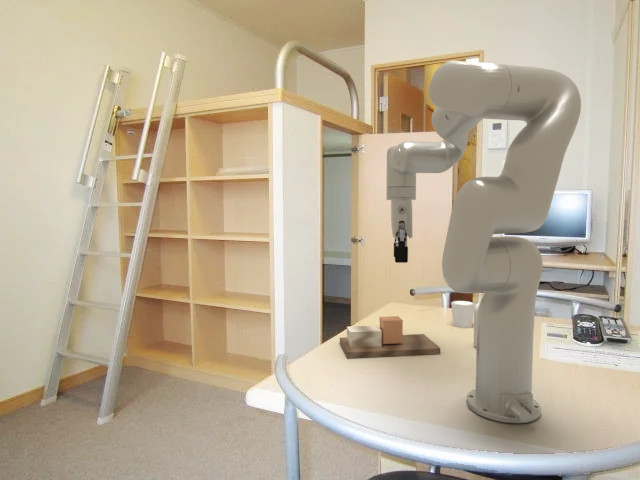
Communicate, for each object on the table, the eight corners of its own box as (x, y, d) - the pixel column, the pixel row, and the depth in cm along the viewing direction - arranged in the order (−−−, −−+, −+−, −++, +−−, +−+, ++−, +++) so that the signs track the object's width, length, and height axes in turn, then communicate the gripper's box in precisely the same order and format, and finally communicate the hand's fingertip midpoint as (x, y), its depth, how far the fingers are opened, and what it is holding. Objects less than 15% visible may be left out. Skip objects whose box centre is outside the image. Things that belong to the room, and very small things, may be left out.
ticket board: (347, 358, 108) (347, 336, 107) (339, 343, 120) (339, 323, 119) (440, 354, 110) (440, 332, 110) (423, 339, 122) (424, 319, 122)
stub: (383, 344, 113) (383, 320, 112) (379, 339, 117) (379, 316, 116) (402, 343, 113) (402, 320, 113) (397, 338, 117) (398, 316, 117)
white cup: (446, 323, 138) (446, 301, 138) (465, 321, 140) (465, 299, 140) (459, 329, 132) (459, 306, 131) (479, 327, 134) (479, 304, 133)
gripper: (418, 194, 106) (417, 264, 107) (413, 194, 123) (412, 255, 124) (386, 194, 107) (386, 264, 108) (386, 194, 124) (385, 255, 125)
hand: (400, 259), depth 116 cm, fingers open, 9 cm apart
